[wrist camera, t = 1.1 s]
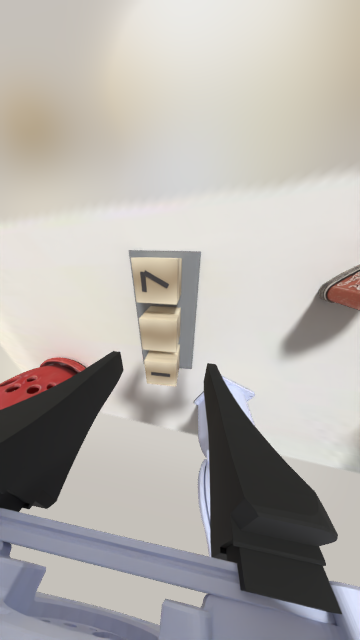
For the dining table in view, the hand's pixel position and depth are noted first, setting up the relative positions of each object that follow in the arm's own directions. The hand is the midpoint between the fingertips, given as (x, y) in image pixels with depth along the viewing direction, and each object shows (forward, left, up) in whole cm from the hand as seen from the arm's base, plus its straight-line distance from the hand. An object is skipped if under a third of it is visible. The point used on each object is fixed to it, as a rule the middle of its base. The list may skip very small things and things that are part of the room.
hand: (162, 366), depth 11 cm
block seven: (+4, +4, -10) cm, 12 cm away
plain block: (-2, +1, -10) cm, 10 cm away
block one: (-7, -2, -10) cm, 12 cm away
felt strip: (-2, +1, -10) cm, 11 cm away
